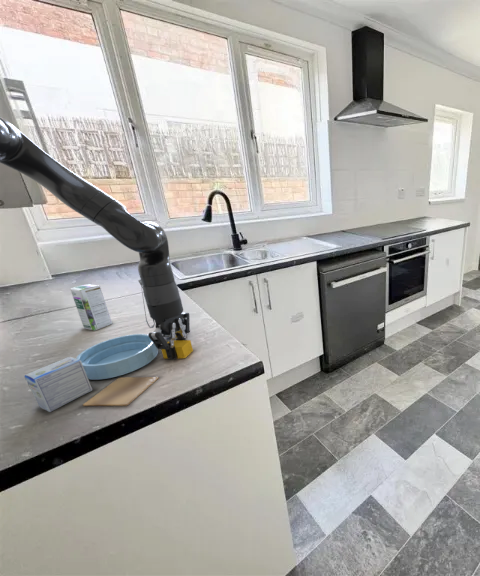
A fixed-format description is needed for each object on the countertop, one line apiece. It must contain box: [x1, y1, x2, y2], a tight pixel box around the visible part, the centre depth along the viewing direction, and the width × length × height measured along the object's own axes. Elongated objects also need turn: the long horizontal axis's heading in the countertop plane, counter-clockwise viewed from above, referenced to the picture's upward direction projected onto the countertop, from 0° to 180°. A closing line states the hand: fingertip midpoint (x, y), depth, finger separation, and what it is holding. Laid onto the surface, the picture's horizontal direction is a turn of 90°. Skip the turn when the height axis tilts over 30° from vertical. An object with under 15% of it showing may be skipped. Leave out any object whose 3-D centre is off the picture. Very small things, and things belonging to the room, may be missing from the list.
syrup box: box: [69, 283, 113, 332], centre depth 104 cm, size 6×6×14 cm
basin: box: [75, 333, 159, 381], centre depth 84 cm, size 16×16×5 cm
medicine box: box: [24, 356, 93, 413], centre depth 69 cm, size 8×4×9 cm, turn 159°
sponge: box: [160, 339, 194, 360], centre depth 87 cm, size 6×4×4 cm, turn 90°
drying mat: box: [82, 376, 160, 407], centre depth 73 cm, size 10×10×1 cm
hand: (178, 354), depth 88 cm, fingers closed on sponge, 4 cm apart
